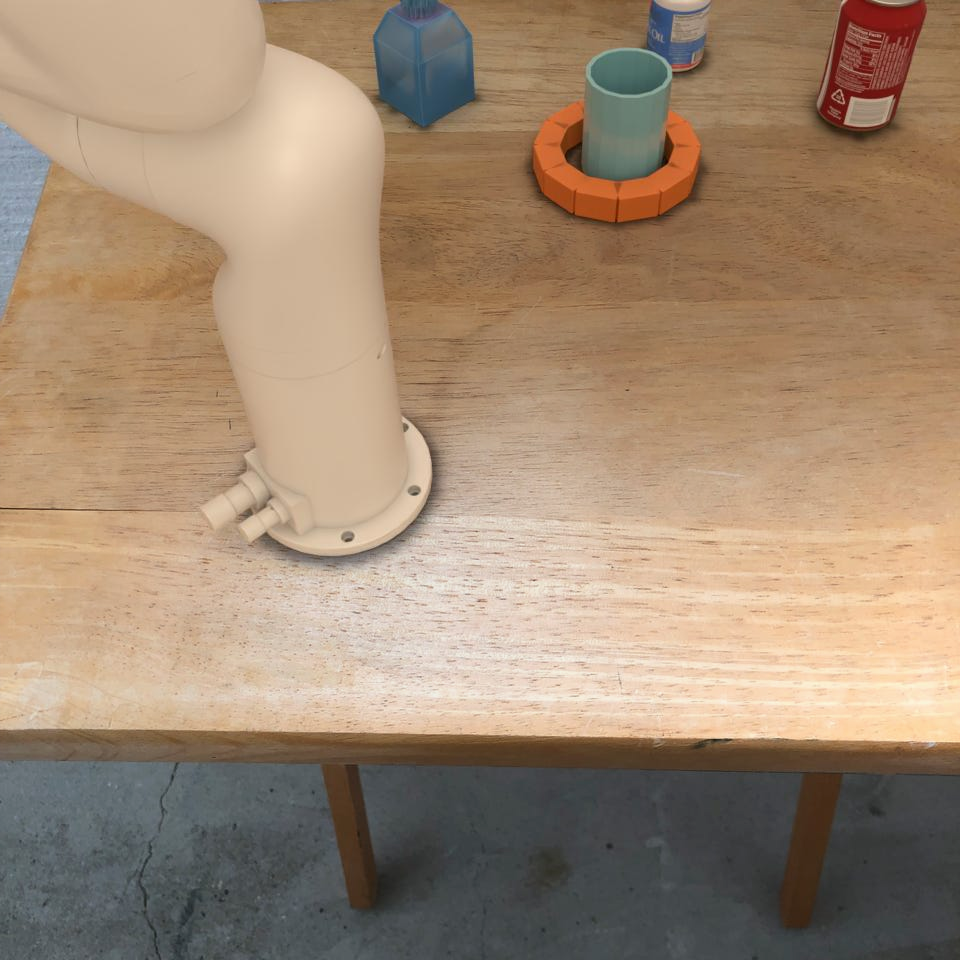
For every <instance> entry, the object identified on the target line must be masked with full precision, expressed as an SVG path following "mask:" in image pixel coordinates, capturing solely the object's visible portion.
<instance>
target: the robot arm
mask: <svg viewBox="0 0 960 960" xmlns="http://www.w3.org/2000/svg"><path fill="white" fill-rule="evenodd" d="M264 19H265V18H264V14H263V11H262V8H261V5H260V2H259V0H0V121H1V122H3V123H4V124H5V125H6V126H8V127H9V128H10V129H11V130H13V132H15V133H17V134H18V135H19V136H21V137H22V138H23V139H24V140H26V141H27V142H28V143H29V144H30V145H32V146H33V147H34V148H36V149H37V150H38V151H39V152H40V153H42V154H43V155H45V156H46V157H48V158H49V159H50V160H52V162H54V163H55V164H57V165H58V166H59V167H61V168H62V169H64V170H66V171H67V172H68V173H70V174H71V175H73V176H74V177H76V178H78V179H79V180H81V181H83V182H84V183H86V184H88V185H90V186H92V187H94V188H96V189H97V190H101V191H102V192H105V193H107V194H109V195H112V196H114V197H117V198H120V199H122V200H125V201H127V202H130V203H132V204H135V205H137V206H140V207H142V208H145V209H146V210H150V211H152V212H154V213H157V214H159V215H162V216H164V217H167V218H169V219H170V220H171V221H173V222H175V223H177V224H180V225H182V226H185V227H187V228H190V229H192V230H194V231H196V232H199V233H200V234H203V235H204V236H206V237H208V238H209V239H211V240H212V241H214V242H215V243H216V244H217V245H219V246H220V247H221V249H222V250H223V251H224V253H225V255H226V258H225V259H224V261H223V262H222V264H221V265H220V267H219V269H218V270H217V272H216V274H215V276H214V280H213V283H212V290H211V303H212V305H211V306H212V312H213V316H214V320H215V323H216V327H217V330H218V334H219V336H220V340H221V343H222V345H223V347H224V350H225V353H226V357H227V359H228V363H229V365H230V368H231V373H232V375H233V378H234V381H235V385H236V387H237V390H238V395H239V398H240V400H241V404H242V407H243V409H244V413H245V416H246V420H247V422H248V425H249V429H250V432H251V435H252V438H253V442H254V445H255V447H253V448H251V449H250V450H249V451H247V452H245V453H244V454H243V459H244V461H245V464H246V471H245V472H243V473H242V474H240V475H238V476H237V477H236V482H237V483H236V484H234V485H233V486H231V487H230V488H229V489H226V490H225V491H224V492H219V493H218V494H216V495H214V496H213V497H212V498H210V499H208V500H207V501H205V502H204V503H202V504H201V505H199V506H197V511H198V513H199V516H200V518H202V521H204V523H205V525H206V526H207V527H208V528H209V529H210V531H212V532H213V533H216V532H218V531H219V530H221V529H222V528H224V527H226V526H227V525H228V524H230V523H231V522H232V521H234V520H236V519H237V518H238V516H240V515H241V514H243V513H244V512H246V511H247V510H248V509H250V510H251V512H252V515H250V516H249V517H247V518H246V519H244V520H243V521H241V522H240V523H238V524H237V525H236V526H237V529H238V530H239V531H238V532H239V533H240V534H241V536H242V537H243V539H244V540H245V541H246V542H247V543H248V544H250V543H252V542H253V541H255V540H256V539H258V538H259V537H261V536H262V535H264V534H265V533H267V535H268V536H270V537H271V538H272V539H274V540H275V541H276V542H278V543H280V544H281V545H283V546H285V547H286V548H289V549H292V550H294V551H297V552H300V553H304V554H309V555H314V556H322V557H323V556H324V557H341V556H346V555H355V554H359V553H362V552H365V551H369V550H372V549H374V548H377V547H378V546H381V545H383V544H385V543H387V542H389V541H391V540H393V538H395V537H397V536H398V535H399V534H401V533H402V532H403V531H405V530H406V529H407V528H408V527H409V526H410V525H411V523H413V522H414V521H415V520H416V519H417V517H418V516H419V514H420V513H421V511H422V510H423V508H424V507H425V505H426V503H427V500H428V497H429V495H430V493H431V489H432V483H433V466H432V459H431V458H432V457H431V453H430V448H429V446H428V444H427V442H426V440H425V438H424V436H423V434H422V433H421V432H420V431H419V430H418V428H417V427H416V426H415V424H413V423H412V422H411V421H410V420H408V419H407V417H405V416H404V415H402V409H401V403H400V396H399V395H400V394H399V388H398V382H397V374H396V366H395V360H394V353H393V345H392V338H391V331H390V324H389V318H388V317H389V316H388V310H387V302H386V295H385V294H386V293H385V287H384V286H385V285H384V279H383V271H382V270H383V269H382V261H381V250H380V249H381V246H380V222H381V207H382V195H383V187H384V178H385V177H384V176H385V166H386V163H385V162H386V140H385V139H386V137H385V133H384V132H385V131H384V128H383V124H382V121H381V118H380V116H379V113H378V112H377V110H376V108H375V106H374V104H373V103H372V102H371V100H370V98H369V97H368V96H367V95H366V94H365V93H364V92H363V91H362V90H361V89H360V88H359V87H358V86H357V85H356V84H355V83H353V81H351V80H350V79H348V78H347V77H345V76H344V75H343V74H341V73H340V72H338V71H336V70H335V69H333V68H331V67H329V66H328V65H325V64H323V63H321V62H319V61H317V60H316V59H313V58H310V57H308V56H305V55H304V54H301V53H298V52H295V51H292V50H289V49H286V48H283V47H280V46H278V45H275V44H271V43H268V42H267V36H266V35H267V34H266V25H265V20H264Z"/></svg>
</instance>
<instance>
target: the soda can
mask: <svg viewBox="0 0 960 960" xmlns="http://www.w3.org/2000/svg"><path fill="white" fill-rule="evenodd" d="M927 11H928V7H927V3H926V1H925V0H840V5H839V9H838V12H837V15H836V16H837V17H836V20H835V21H836V22H835V25H834V28H833V33H832V37H831V42H830V44H829V45H830V46H829V48H828V49H829V50H828V53H827V58H826V62H825V65H824V70H823V74H822V78H821V82H820V87H819V91H818V95H817V99H816V110H817V112H818V114H819V115H820V116H821V118H822V119H824V121H826V122H827V123H829V124H830V125H833V126H834V127H836V128H839V129H842V130H844V131H849V132H871V131H876V130H880V129H881V128H883V127H886V126H887V125H889V124H890V123H891V122H892V121H893V120H894V119H895V116H896V114H897V113H896V112H897V110H898V106H899V103H900V100H901V97H902V93H903V90H904V88H905V84H906V80H907V77H908V75H909V71H910V68H911V64H912V61H913V58H914V55H915V51H916V48H917V45H918V42H919V39H920V36H921V33H922V30H923V26H924V23H925V20H926V16H927V13H928V12H927Z"/></svg>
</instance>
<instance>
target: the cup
mask: <svg viewBox="0 0 960 960" xmlns="http://www.w3.org/2000/svg"><path fill="white" fill-rule="evenodd" d="M584 81H585V82H584V97H583V98H584V100H583V101H584V119H583V139H582V142H581V143H582V144H581V161H580V163H581V172H582V173H583V174H585V175H586V176H589V177H594V178H599V179H605V180H610V181H616V182H620V181H626V180H633V179H639V178H645V177H648V176H650V175H651V174H653V173H654V172H656V171H658V170H659V169H661V168H662V167H663V159H664V153H663V152H664V144H665V136H666V127H667V119H668V111H669V110H670V102H671V93H672V85H673V72H672V67H671V66H670V65H669V63H668V62H667V61H666V59H665V58H663V57H661V56H660V55H658V54H656V53H654V52H652V51H648V50H646V49H645V48H644V49H643V48H640V47H617V48H613V49H612V48H611V49H606V50H604V51H602V52H600V53H598V54H597V55H595V56H593V57H592V58H591V59H590V61H589V62H588V63H587V65H586V67H585V79H584Z"/></svg>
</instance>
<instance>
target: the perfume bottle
mask: <svg viewBox="0 0 960 960" xmlns="http://www.w3.org/2000/svg"><path fill="white" fill-rule="evenodd" d="M399 2H400V3H397V4H396V5H394V6H392V7H390V8H388V9H387V10H386V11H385V13H384V15H383V17H382V19H381V20H380V22H379V24H378V26H377V28H376V29H375V31H374V33H373V35H372V43H373V51H374V60H375V68H376V77H377V85H378V92H379V93H378V94H379V99H380V100H381V101H383V102H385V103H386V104H387V105H389V106H391V107H392V108H393V109H395V110H397V111H398V112H400V113H401V114H403V115H404V116H405V117H407V118H408V119H410V120H412V121H413V122H414V123H415V124H418V125H419V126H420V127H422V128H426V127H427V126H429V125H432V124H433V123H435V122H436V121H437V120H440V119H442V118H443V117H445V116H447V115H449V114H450V113H453V112H454V111H456V110H457V109H459V108H462V106H464V105H466V104H468V103H470V102H471V101H473V100H476V91H475V90H476V88H475V67H474V66H475V65H474V64H475V63H474V44H473V35H472V34H471V32H470V30H468V28H467V27H466V25H465V24H464V23H463V21H462V20H461V18H460V17H459V16H458V15H457V13H456V11H455V10H454V8H451V7H449V6H448V5H446V4H444V3H443V2H441V1H439V0H399Z"/></svg>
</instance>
